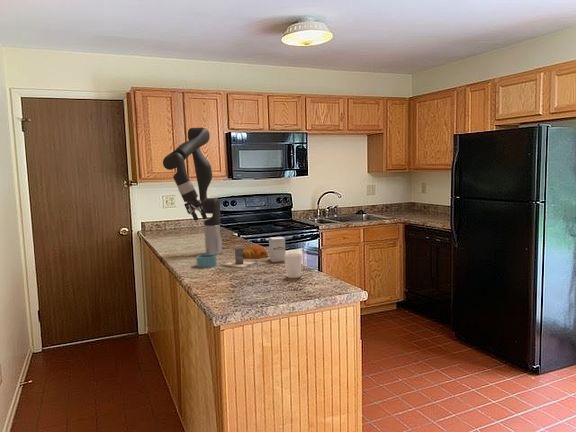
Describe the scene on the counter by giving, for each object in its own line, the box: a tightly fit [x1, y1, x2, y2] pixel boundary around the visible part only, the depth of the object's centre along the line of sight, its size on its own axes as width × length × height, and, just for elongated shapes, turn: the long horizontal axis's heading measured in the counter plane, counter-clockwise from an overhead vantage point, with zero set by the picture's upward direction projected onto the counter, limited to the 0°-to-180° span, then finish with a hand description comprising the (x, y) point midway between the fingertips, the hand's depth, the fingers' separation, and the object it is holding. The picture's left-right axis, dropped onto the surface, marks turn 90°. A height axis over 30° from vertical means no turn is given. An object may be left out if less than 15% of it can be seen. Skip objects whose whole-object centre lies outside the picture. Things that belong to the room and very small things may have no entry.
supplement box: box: [268, 236, 286, 263], centre depth 239 cm, size 7×7×13 cm
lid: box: [221, 246, 258, 269], centre depth 230 cm, size 13×13×9 cm
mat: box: [217, 262, 261, 270], centre depth 230 cm, size 16×16×1 cm
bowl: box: [195, 253, 218, 269], centre depth 231 cm, size 10×10×6 cm
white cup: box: [284, 252, 303, 279], centre depth 204 cm, size 8×8×10 cm
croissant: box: [242, 244, 269, 259], centre depth 253 cm, size 14×16×8 cm
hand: (201, 219), depth 231 cm, fingers open, 8 cm apart
